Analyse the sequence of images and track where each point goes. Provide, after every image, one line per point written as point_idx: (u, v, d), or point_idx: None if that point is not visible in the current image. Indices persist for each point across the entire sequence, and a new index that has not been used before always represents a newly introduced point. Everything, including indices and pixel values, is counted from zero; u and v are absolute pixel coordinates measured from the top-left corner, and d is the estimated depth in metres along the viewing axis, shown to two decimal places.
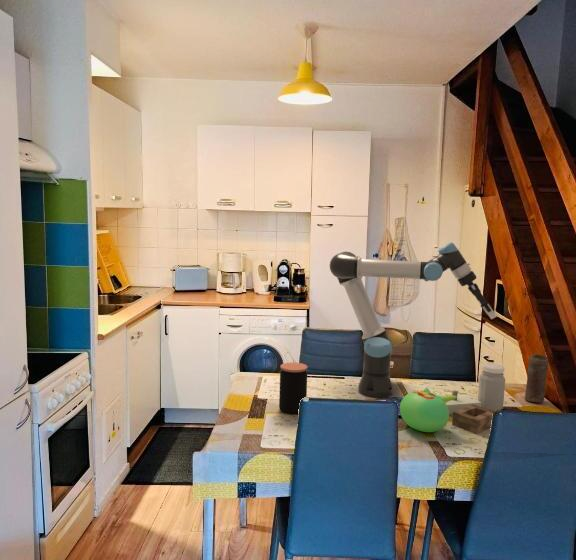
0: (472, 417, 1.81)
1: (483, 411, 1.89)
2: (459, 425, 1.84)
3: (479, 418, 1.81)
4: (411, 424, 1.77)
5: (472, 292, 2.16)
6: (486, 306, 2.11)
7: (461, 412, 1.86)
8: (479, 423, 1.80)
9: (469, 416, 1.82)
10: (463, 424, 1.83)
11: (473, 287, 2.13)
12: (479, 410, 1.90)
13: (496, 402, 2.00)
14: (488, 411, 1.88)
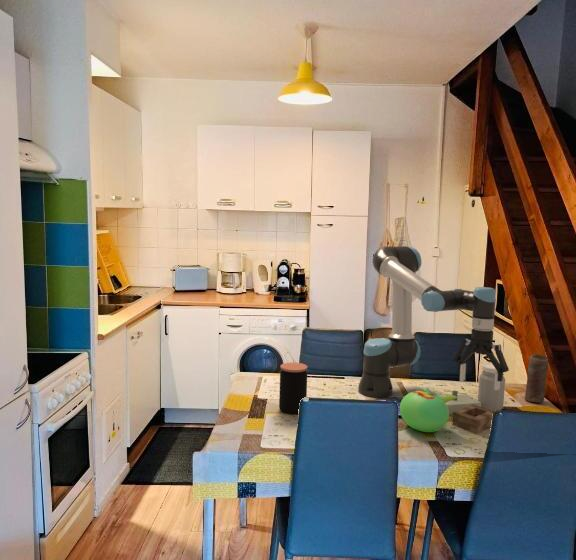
0: (472, 417, 1.81)
1: (483, 411, 1.89)
2: (459, 425, 1.84)
3: (479, 418, 1.81)
4: (411, 424, 1.77)
5: None
6: None
7: (461, 412, 1.86)
8: (479, 423, 1.80)
9: (469, 416, 1.82)
10: (463, 424, 1.83)
11: None
12: (479, 410, 1.90)
13: (496, 402, 2.00)
14: (488, 411, 1.88)
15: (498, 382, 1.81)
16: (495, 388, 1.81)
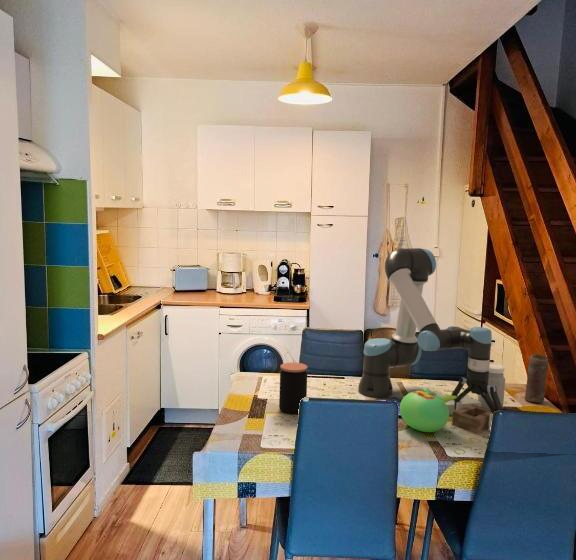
0: (472, 417, 1.81)
1: (483, 411, 1.89)
2: (459, 425, 1.84)
3: (479, 418, 1.81)
4: (411, 424, 1.77)
5: None
6: None
7: (461, 412, 1.86)
8: (479, 423, 1.80)
9: (469, 416, 1.82)
10: (463, 424, 1.83)
11: None
12: (479, 410, 1.90)
13: None
14: (488, 411, 1.88)
15: None
16: (489, 429, 1.81)
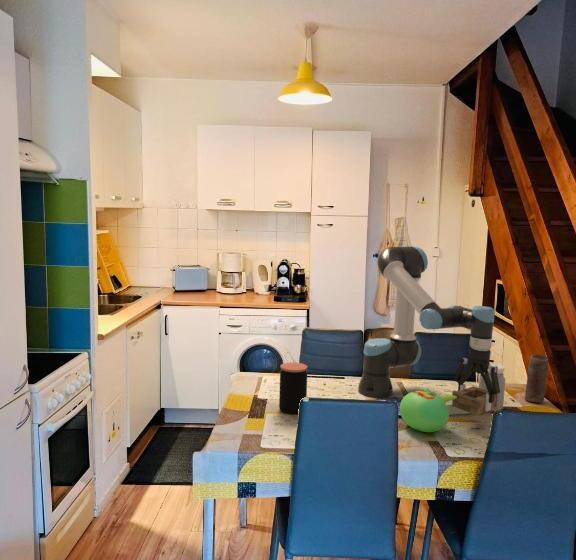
0: (472, 398, 1.81)
1: (483, 393, 1.89)
2: (459, 406, 1.84)
3: (479, 399, 1.80)
4: (411, 424, 1.77)
5: None
6: None
7: (461, 393, 1.86)
8: (479, 405, 1.79)
9: (469, 397, 1.82)
10: (463, 405, 1.83)
11: None
12: (479, 392, 1.90)
13: None
14: None
15: (489, 403, 1.82)
16: (486, 409, 1.82)
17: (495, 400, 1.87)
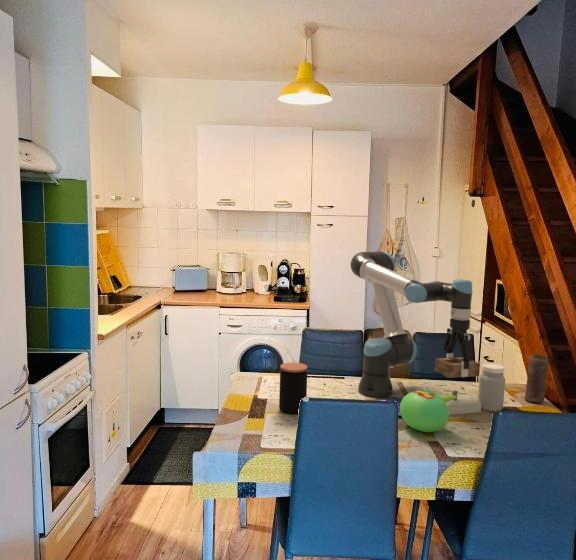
0: (447, 363, 1.97)
1: None
2: (438, 370, 2.01)
3: (453, 364, 1.96)
4: (411, 424, 1.77)
5: None
6: None
7: (443, 359, 2.02)
8: (451, 368, 1.95)
9: (445, 362, 1.98)
10: (440, 369, 2.00)
11: None
12: None
13: (496, 402, 2.00)
14: (471, 362, 2.00)
15: (465, 370, 1.96)
16: (461, 375, 1.96)
17: (476, 369, 1.98)
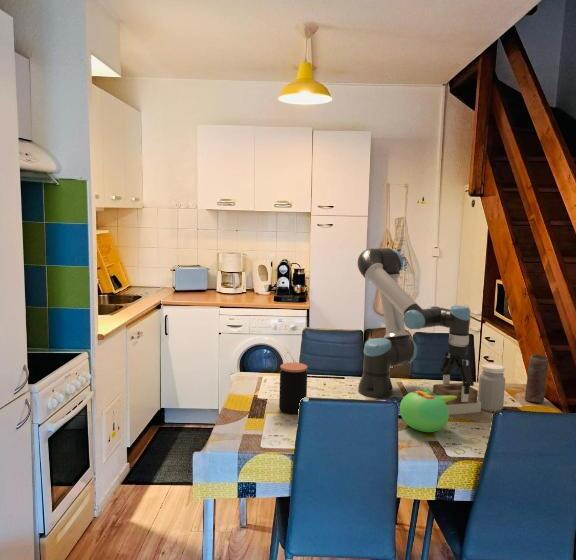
0: (445, 390, 1.99)
1: None
2: None
3: (451, 391, 1.97)
4: (411, 424, 1.77)
5: None
6: None
7: (441, 386, 2.04)
8: None
9: (443, 389, 2.00)
10: None
11: None
12: None
13: (496, 402, 2.00)
14: (469, 389, 2.01)
15: (465, 395, 1.95)
16: (461, 400, 1.96)
17: (474, 396, 1.99)
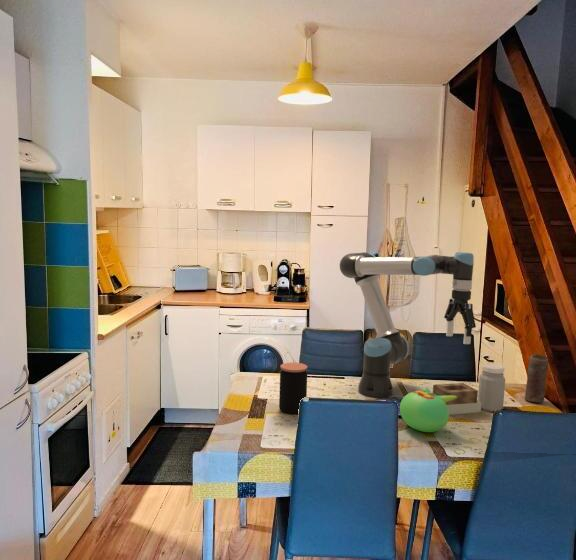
0: (445, 390, 1.99)
1: (466, 388, 2.03)
2: None
3: (451, 391, 1.97)
4: (411, 424, 1.77)
5: None
6: None
7: (441, 386, 2.04)
8: None
9: (443, 389, 2.00)
10: None
11: None
12: (463, 387, 2.04)
13: (496, 402, 2.00)
14: (469, 389, 2.01)
15: (468, 337, 2.02)
16: (464, 342, 2.02)
17: (474, 396, 1.99)
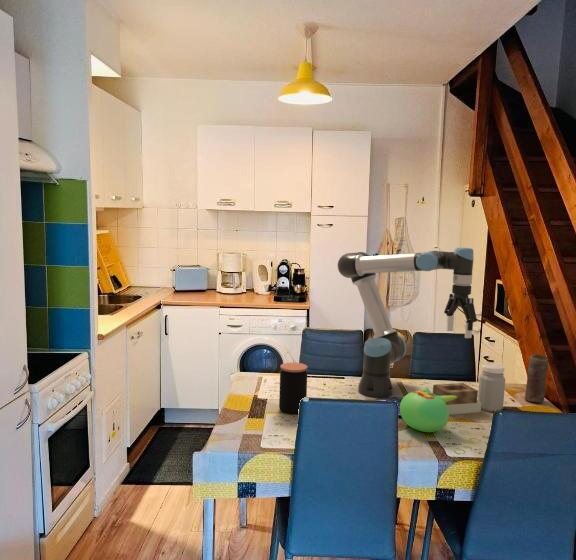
0: (445, 390, 1.99)
1: (466, 388, 2.03)
2: None
3: (451, 391, 1.97)
4: (411, 424, 1.77)
5: None
6: None
7: (441, 386, 2.04)
8: None
9: (443, 389, 2.00)
10: None
11: None
12: (463, 387, 2.04)
13: (496, 402, 2.00)
14: (469, 389, 2.01)
15: (469, 331, 2.04)
16: (465, 336, 2.04)
17: (474, 396, 1.99)
